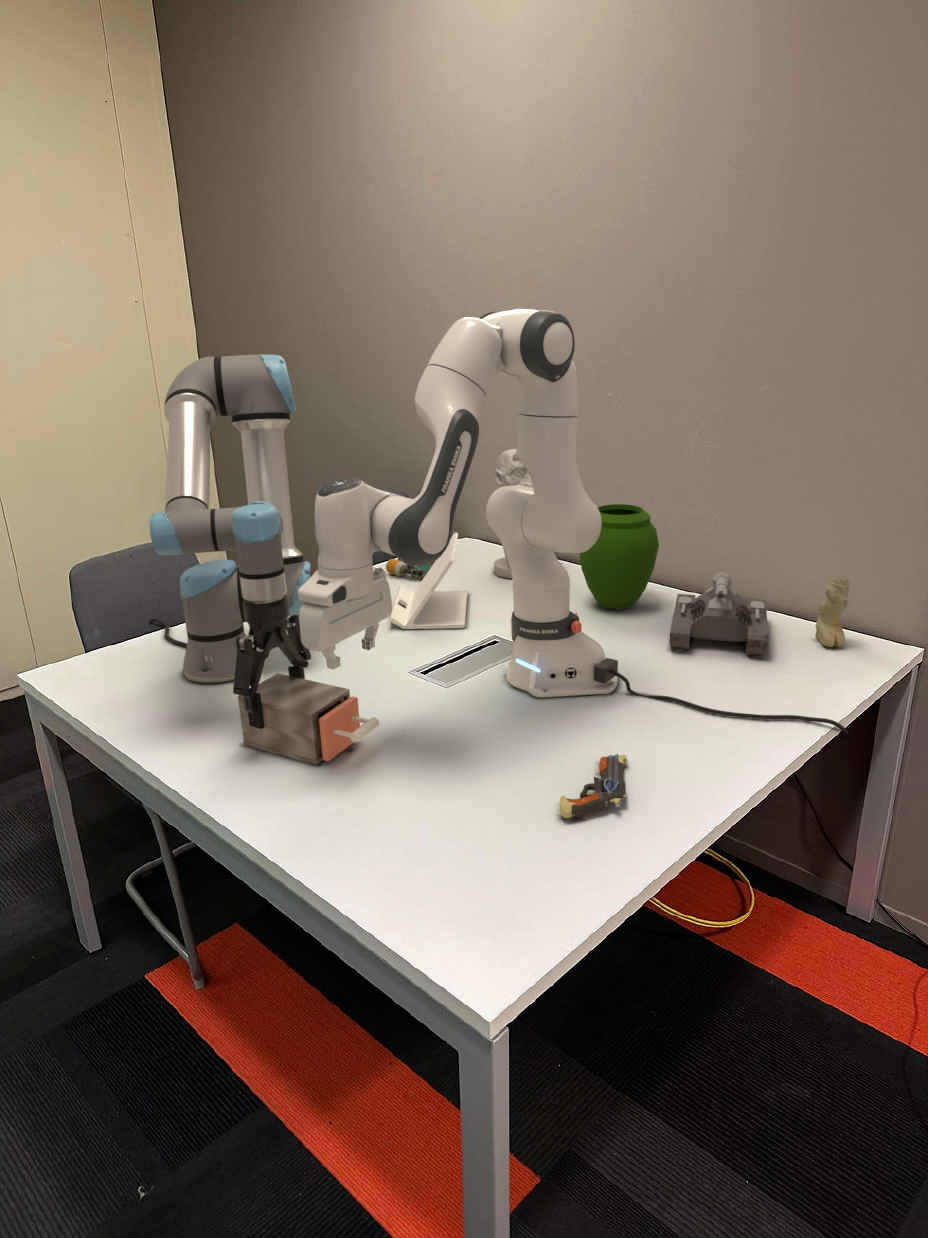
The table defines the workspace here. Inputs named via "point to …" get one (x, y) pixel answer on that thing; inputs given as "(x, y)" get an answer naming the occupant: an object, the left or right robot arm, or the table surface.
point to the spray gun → (406, 568)
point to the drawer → (341, 727)
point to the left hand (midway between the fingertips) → (278, 713)
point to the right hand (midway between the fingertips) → (351, 657)
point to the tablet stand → (431, 599)
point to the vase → (621, 556)
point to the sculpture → (832, 613)
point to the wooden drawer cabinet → (290, 716)
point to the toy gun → (599, 788)
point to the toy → (720, 618)
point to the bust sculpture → (509, 475)
